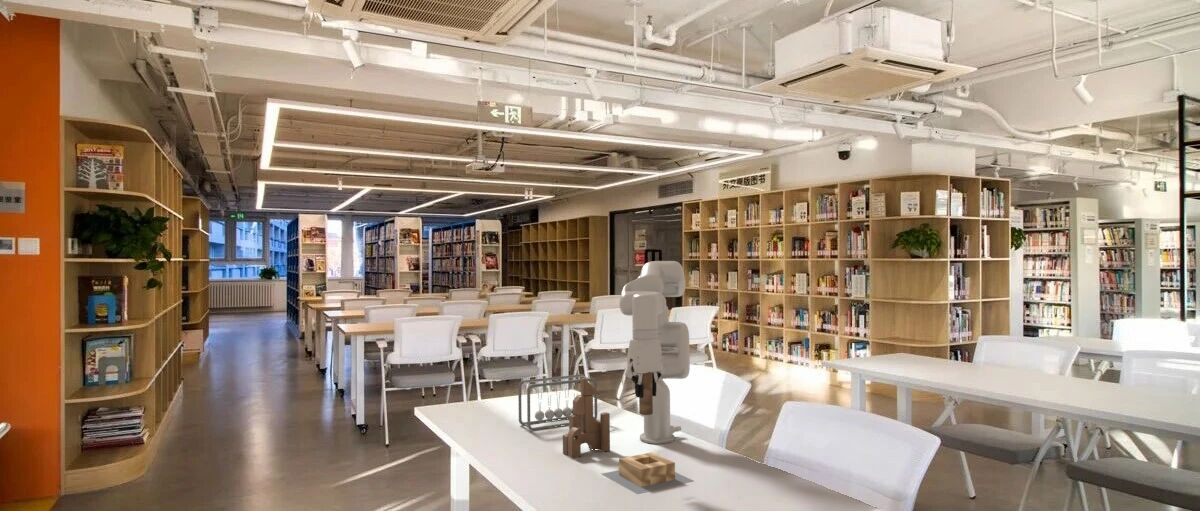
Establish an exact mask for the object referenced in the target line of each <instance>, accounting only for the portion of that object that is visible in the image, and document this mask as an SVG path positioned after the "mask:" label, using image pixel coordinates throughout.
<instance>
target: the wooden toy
mask: <svg viewBox="0 0 1200 511" xmlns="http://www.w3.org/2000/svg"><path fill="white" fill-rule="evenodd" d="M580 379H581V382H580V394H576V396H575V399H574V398H573V400H572V407H573V414H572V413H571V415H569V419H568V423H569V426H568V429H569V430H568V433H566V434H565V433H563V435H562V453H564V454H563V455H565V456H568V457H570V458H571V457H575V458H579V457H578V456H580V457H581V452H582V451H581V449H582V448H581V445H583V444H586V445H587V446H588V449H589V448H591V449H593V450H595V449H600V451H601V450H602V451H601V452H603V451H607V452H609V450H611V427H610V426H611V419H610V418H611V416H610V413H609V412H605V411H604V412H601V413H600V414H599V416H600V417H599V420H600V421H599V420H597V419H596V420H595V418H594V417H595V416H594V395H597V396H598V395H600V392H599V391H598V389H597V390H596V389H595V388H594V386H593V385H592V384H591V383H590V381H587V380H586V379H584V378H583V377H580ZM591 449H590V450H591ZM593 450H592V451H593ZM595 451H596V450H595Z"/></svg>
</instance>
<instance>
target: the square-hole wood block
mask: <svg viewBox="0 0 1200 511" xmlns="http://www.w3.org/2000/svg"><path fill="white" fill-rule="evenodd" d="M618 470H619V475H620V476H622V477H624V478H625V479H627V480H629V481H631V482H633V483H635V484H637V485H638V486H640V487H644V486H648V485H653V484H657V483H661V482H666V481H670V480H675V472H676V463H675V462H674V461H672V460H671V459H667V458H665V457H663V456H661V455H659V454H656V453H654V452H646V453H641V454H637V455H636V454H635V455H631V456H626V457H620V458H618Z"/></svg>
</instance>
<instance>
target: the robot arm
mask: <svg viewBox="0 0 1200 511" xmlns="http://www.w3.org/2000/svg"><path fill="white" fill-rule="evenodd" d="M684 271H685V270H684V268H683V265H681V263H680V262H678V261H675V260H654V261H652V260H651V261H648V262H646V263H645V264H644V265H643V266H642V268H641V271H640V275H639V276H637V278H636V279H634V280H631V281H629V282H627V283H626V284H625V285H624V286H623V287H622V290H621V292H620V296H619V297H620V298H619V309H620V312H621V313H622V314H623V315H625V316H631V318H632V339H630V340H629V344H628V349H627V364H626V366H627V369H626V371H625V373H624V375H625V376H626V377H627V378H629V379H630V380H631V381H632V383H634V394H635V397H636V398H638V399H639V398H643V384H641V382H642V375H643V374H645V373H648V372H652V384H653V414H651V415H643V433H641V434H640V435H639V440H640V441H641V442H643V443H646V444H647V443H648V444H655V445H657V444H659V445H660V444H661V445H662V444H670V443H672V442H674V441H675V439H676V438H675V435H674V434H675V432H676V433H679V432H682V427H681V425H676V426H674V425H671V392H670V387H669V386H668V385H667V383H666V382H665V381H664V380H665V379H669V380H670V379H671V380H672V379H673V380H674V379H676V380H679V379H680V380H683V379H686V378H687V377H688V376H689V374H690V371H691V370H690V364H691V363H690V360H691V359H690V331H689V327H688V325H687V324H686V323H685V322H681V321H669V307H668V305H667V299H666V298H679V297H682V296H684V294H685V291H686V279H685V272H684ZM662 349H675V350H676V351H662ZM663 379H664V380H663Z"/></svg>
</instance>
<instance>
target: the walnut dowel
mask: <svg viewBox="0 0 1200 511" xmlns="http://www.w3.org/2000/svg"><path fill="white" fill-rule="evenodd" d="M641 384H643V398H639V397H638V399H639V400H638V406H639V408H638V410H639V415H642V416H644V415H651V414H653V384H652V372H648V373H645V374H643V375H642V382H641Z"/></svg>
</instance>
